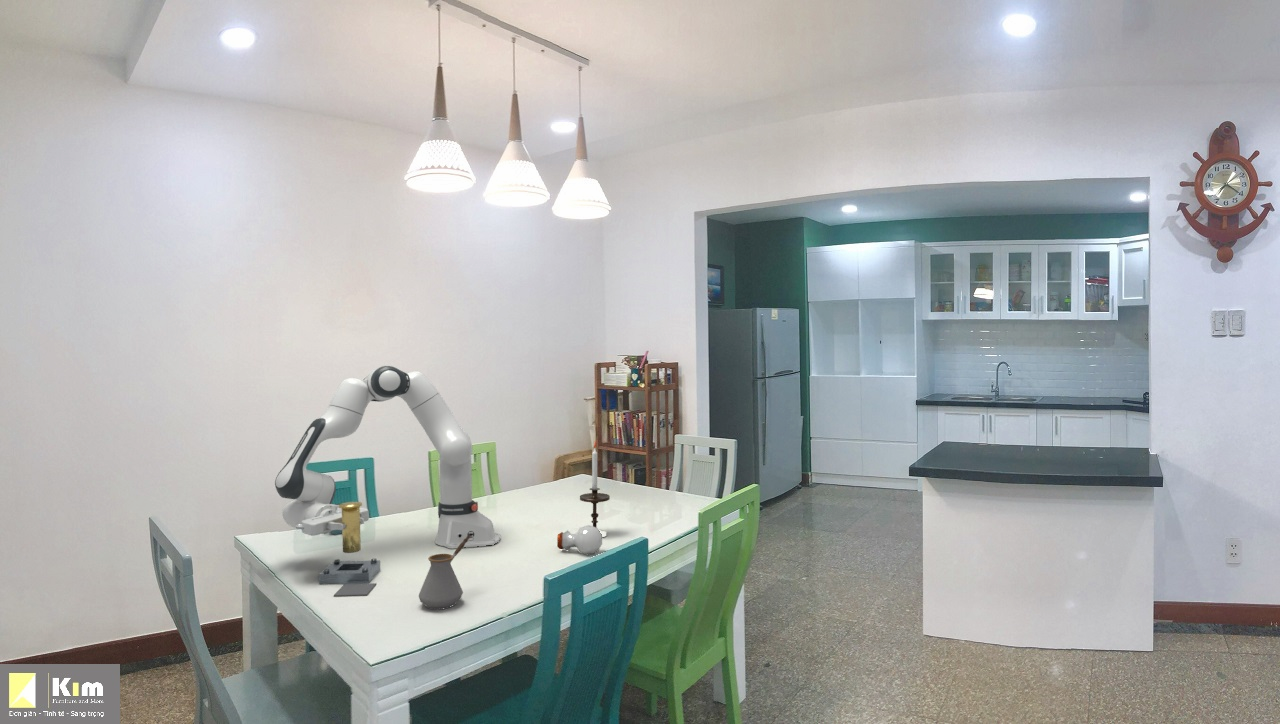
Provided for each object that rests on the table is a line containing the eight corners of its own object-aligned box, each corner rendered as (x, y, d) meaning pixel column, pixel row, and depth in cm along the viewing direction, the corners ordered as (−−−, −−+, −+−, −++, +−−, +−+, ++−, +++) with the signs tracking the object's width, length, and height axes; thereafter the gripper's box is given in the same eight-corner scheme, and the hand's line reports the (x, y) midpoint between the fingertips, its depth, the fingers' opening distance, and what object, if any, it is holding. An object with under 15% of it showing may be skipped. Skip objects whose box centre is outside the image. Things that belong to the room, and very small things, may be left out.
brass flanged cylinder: (366, 546, 217) (364, 501, 216) (359, 553, 211) (358, 506, 210) (344, 547, 216) (343, 502, 216) (337, 554, 210) (335, 507, 210)
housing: (380, 569, 220) (380, 557, 220) (368, 583, 208) (368, 570, 208) (333, 571, 219) (333, 558, 219) (319, 584, 207) (319, 571, 207)
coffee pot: (447, 614, 185) (447, 557, 184) (409, 609, 188) (409, 553, 187) (488, 587, 205) (488, 535, 205) (453, 583, 208) (453, 532, 208)
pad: (376, 584, 207) (376, 583, 207) (367, 595, 198) (367, 594, 198) (344, 585, 206) (344, 584, 206) (333, 596, 197) (333, 595, 197)
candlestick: (600, 529, 267) (600, 437, 266) (615, 536, 258) (615, 440, 257) (574, 534, 261) (574, 439, 260) (588, 541, 252) (589, 442, 251)
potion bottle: (602, 560, 235) (561, 561, 240) (609, 536, 243) (568, 538, 247) (594, 542, 230) (552, 543, 234) (601, 518, 237) (559, 520, 242)
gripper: (291, 516, 211) (322, 521, 204) (350, 501, 228) (380, 506, 221) (292, 537, 211) (322, 543, 204) (351, 521, 229) (380, 526, 222)
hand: (353, 524), depth 213 cm, fingers closed on brass flanged cylinder, 5 cm apart
